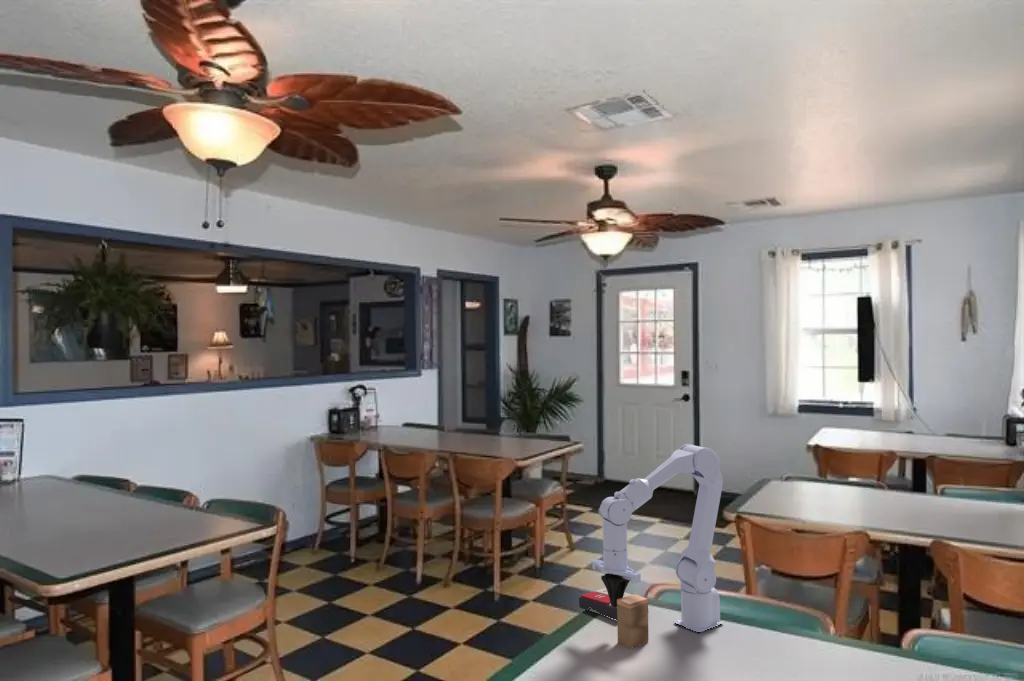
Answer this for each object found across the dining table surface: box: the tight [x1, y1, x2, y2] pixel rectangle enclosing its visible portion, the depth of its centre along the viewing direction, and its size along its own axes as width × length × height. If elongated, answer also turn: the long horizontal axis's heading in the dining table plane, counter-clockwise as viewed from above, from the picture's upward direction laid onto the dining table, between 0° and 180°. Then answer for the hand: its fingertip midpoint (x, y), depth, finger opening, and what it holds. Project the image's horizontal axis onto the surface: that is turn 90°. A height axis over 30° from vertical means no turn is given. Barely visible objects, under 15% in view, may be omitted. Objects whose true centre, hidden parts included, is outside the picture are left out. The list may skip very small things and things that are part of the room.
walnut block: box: [616, 593, 649, 649], centre depth 161 cm, size 6×4×10 cm, turn 126°
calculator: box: [578, 587, 634, 620], centre depth 182 cm, size 11×4×15 cm
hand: (616, 605), depth 166 cm, fingers closed
